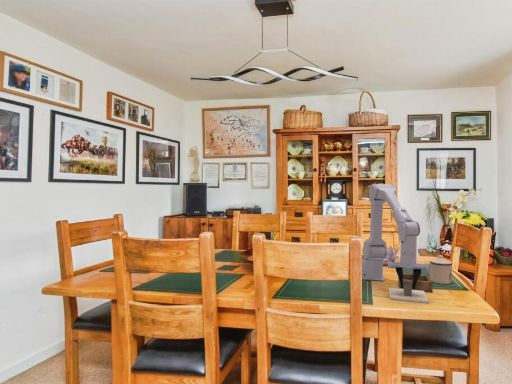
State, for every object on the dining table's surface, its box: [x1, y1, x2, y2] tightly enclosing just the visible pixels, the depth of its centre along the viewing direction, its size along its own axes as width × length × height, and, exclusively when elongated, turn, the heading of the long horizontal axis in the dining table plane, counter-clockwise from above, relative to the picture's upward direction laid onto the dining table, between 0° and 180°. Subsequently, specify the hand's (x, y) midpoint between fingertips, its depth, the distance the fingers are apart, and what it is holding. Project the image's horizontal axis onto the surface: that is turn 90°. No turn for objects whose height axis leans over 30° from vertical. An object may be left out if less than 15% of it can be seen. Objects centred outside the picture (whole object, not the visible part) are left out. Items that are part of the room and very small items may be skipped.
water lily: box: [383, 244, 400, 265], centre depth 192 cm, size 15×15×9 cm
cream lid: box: [388, 280, 430, 304], centre depth 138 cm, size 13×13×6 cm
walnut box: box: [397, 272, 434, 293], centre depth 151 cm, size 12×12×4 cm
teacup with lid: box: [429, 254, 453, 285], centre depth 162 cm, size 12×9×12 cm
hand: (407, 287), depth 138 cm, fingers open, 4 cm apart
